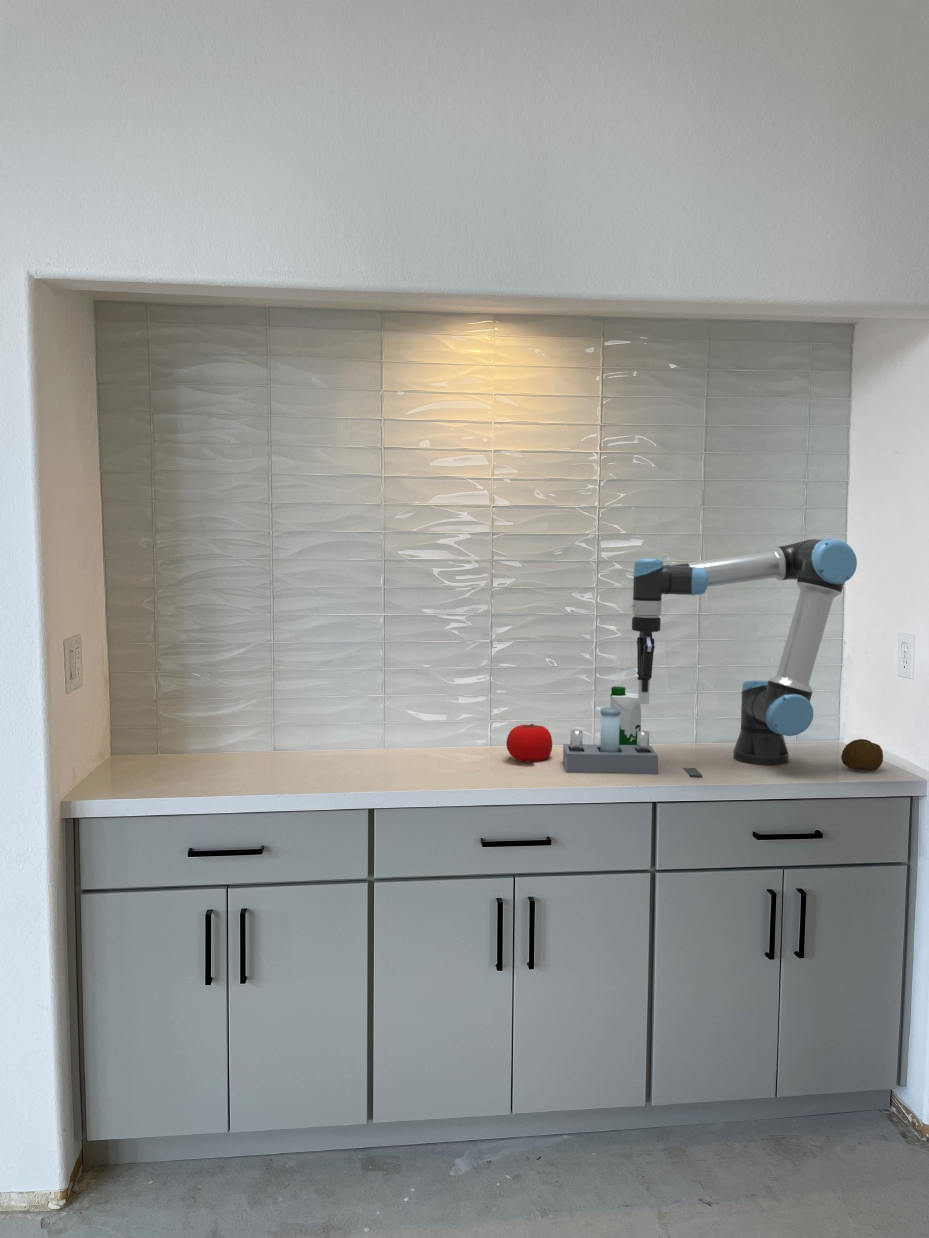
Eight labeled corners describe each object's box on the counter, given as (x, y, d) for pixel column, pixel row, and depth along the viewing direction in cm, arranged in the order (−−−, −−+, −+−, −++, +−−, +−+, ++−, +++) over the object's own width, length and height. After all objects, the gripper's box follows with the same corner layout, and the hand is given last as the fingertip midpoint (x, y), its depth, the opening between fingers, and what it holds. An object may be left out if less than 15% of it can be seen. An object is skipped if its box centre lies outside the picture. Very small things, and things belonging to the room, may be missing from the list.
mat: (695, 770, 247) (695, 767, 247) (702, 777, 239) (702, 775, 239) (666, 769, 247) (666, 767, 247) (672, 777, 239) (672, 774, 239)
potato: (892, 774, 245) (894, 742, 244) (849, 774, 244) (851, 742, 243) (877, 766, 253) (878, 736, 252) (835, 766, 252) (837, 736, 252)
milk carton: (609, 751, 268) (610, 684, 266) (640, 753, 266) (641, 686, 265) (607, 758, 260) (609, 689, 258) (639, 759, 258) (641, 690, 256)
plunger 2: (647, 755, 245) (648, 730, 245) (649, 758, 242) (650, 733, 241) (635, 755, 245) (636, 730, 245) (637, 757, 242) (638, 732, 242)
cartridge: (617, 765, 247) (619, 707, 245) (620, 770, 241) (622, 711, 240) (597, 765, 247) (599, 707, 246) (600, 769, 241) (601, 711, 240)
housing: (649, 766, 250) (650, 745, 249) (657, 777, 238) (658, 755, 237) (562, 765, 250) (563, 743, 250) (566, 776, 238) (567, 753, 238)
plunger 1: (581, 754, 246) (581, 729, 245) (582, 756, 242) (583, 732, 242) (569, 754, 246) (570, 729, 245) (570, 756, 242) (571, 731, 242)
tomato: (544, 768, 247) (545, 730, 246) (500, 764, 251) (500, 727, 250) (557, 757, 260) (558, 721, 259) (515, 753, 265) (516, 718, 264)
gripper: (628, 614, 247) (625, 699, 249) (636, 617, 234) (633, 707, 236) (655, 614, 247) (652, 699, 249) (665, 618, 234) (662, 708, 236)
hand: (643, 703), depth 242 cm, fingers closed
